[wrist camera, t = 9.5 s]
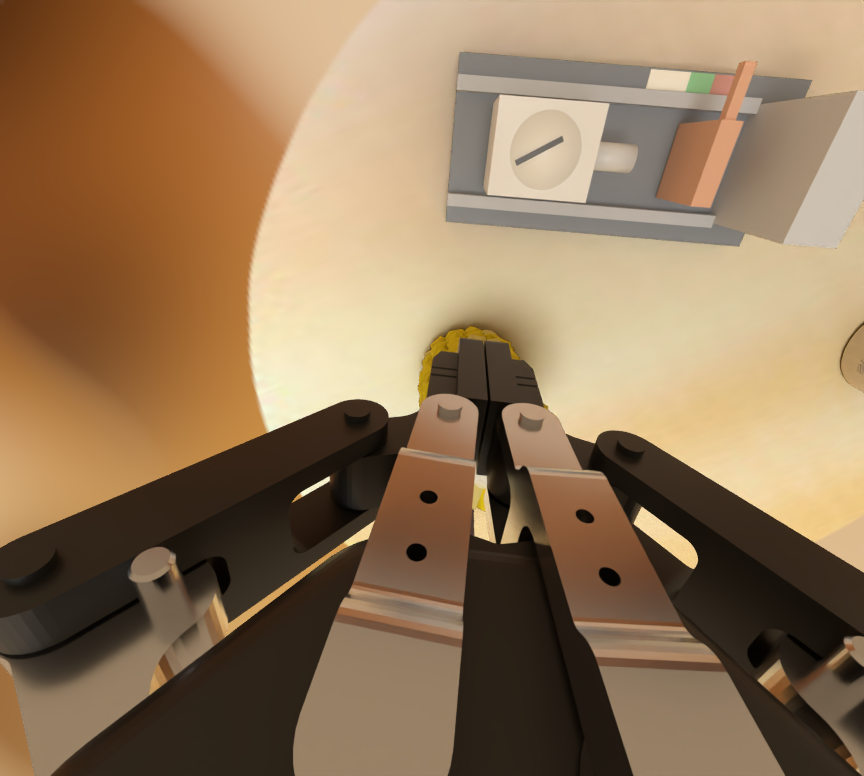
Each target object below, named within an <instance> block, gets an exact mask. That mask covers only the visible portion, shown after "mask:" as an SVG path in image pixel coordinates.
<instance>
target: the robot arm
mask: <svg viewBox="0 0 864 776" xmlns="http://www.w3.org/2000/svg"><path fill="white" fill-rule="evenodd" d="M841 370H842V373H843V376H844V378H845V379H846V380H847V382H848V383H849V384H851V385H852V386H854V387H856V388H857V389H859V390H860V391H862V392H864V325H863V326H862V327H861V328H860V329H859V330H858V331H857V332H856V333H855V334H854V336H853V337H852V338H851V340H850V341H849V343H848V345H847V347H846V348H845V350H844V353H843V357H842V360H841ZM535 379H536V378H535V375H534V371H533V369H532V368H531V367H530V366H529V365H528V364H527V363H526V362H525V361H524V360H515V359H512V357H511V352H510V347H509V343H503V342H494V341H486V340H485V341H484V344H483V340H476V339H468V338H460V339H459V345H458V352H457V353H455V352H446V351H440V352H439V353H438V354H437V355H436V356H434V357H433V361H432V367H431V373H430V379H429V385H428V391H427V397H426V399H425V400H424V401H423V402H422V403H421V406H420V409H419V411H417V412H415V413H413V414H410V415H407V416H401V417H391V418H388V417H389V416H388V412H387V411H386V409H385V408H384V407H383V406H381V405H380V404H378V403H375V402H373V401H369V400H361V399H355V400H347V401H343V402H340V403H337V404H335V405H333V406H330V407H328V408H326V409H323V410H321V411H318V412H316V413H314V414H311V415H309V416H307V417H304V418H302V419H299V420H297V421H295V422H292V423H290V424H288V425H285V426H283V427H281V428H278V429H276V430H273V431H271V432H269V433H266V434H264V435H262V436H260V437H257V438H255V439H252V440H250V441H247V442H245V443H243V444H240V445H238V446H236V447H233V448H231V449H228V450H226V451H224V452H221V453H219V454H217V455H214V456H212V457H210V458H207V459H205V460H203V461H200V462H198V463H195V464H193V465H191V466H189V467H186V468H184V469H182V470H179V471H176V472H174V473H172V474H170V475H167V476H165V477H162V478H160V479H157V480H155V481H153V482H150V483H148V484H146V485H143V486H141V487H139V488H136V489H134V490H131V491H129V492H127V493H124V494H122V495H120V496H117V497H115V498H112V499H110V500H108V501H105V502H103V503H101V504H98V505H96V506H94V507H91V508H89V509H86V510H84V511H82V512H80V513H77V514H75V515H72V516H70V517H68V518H65V519H63V520H60V521H58V522H56V523H53V524H51V525H49V526H46V527H44V528H42V529H39V530H37V531H35V532H32V533H30V534H27V535H25V536H23V537H20V538H18V539H16V540H14V541H12V542H10V543H8V544H7V545H5V546H3V547H1V548H0V664H1V665H2V666H3V667H4V669H5V670H6V671H7V672H8V673H9V674H10V675H11V677H12V678H13V679H14V684H15V689H16V693H17V698H18V702H19V707H20V711H21V716H22V720H23V725H24V730H25V733H26V739H27V743H28V747H29V752H30V757H31V761H32V766H33V770H34V774H35V776H864V573H863V572H862V571H860V570H858V569H857V568H855V567H853V566H852V565H850V564H848V563H847V562H845V561H844V560H842V559H840V558H839V557H837V556H835V555H834V554H832V553H830V552H829V551H827V550H825V549H824V548H822V547H820V546H819V545H817V544H816V543H814V542H812V541H811V540H809V539H807V538H806V537H804V536H803V535H801V534H799V533H798V532H796V531H794V530H793V529H791V528H789V527H788V526H786V525H785V524H783V523H781V522H780V521H778V520H776V519H775V518H773V517H771V516H770V515H768V514H766V513H765V512H763V511H762V510H760V509H758V508H757V507H755V506H753V505H752V504H750V503H748V502H747V501H745V500H743V499H742V498H740V497H739V496H737V495H735V494H734V493H732V492H730V491H729V490H727V489H725V488H724V487H722V486H721V485H719V484H717V483H716V482H714V481H712V480H711V479H709V478H707V477H706V476H704V475H702V474H701V473H699V472H698V471H696V470H694V469H693V468H691V467H689V466H688V465H686V464H684V463H683V462H681V461H679V460H678V459H676V458H675V457H673V456H671V455H670V454H668V453H666V452H665V451H663V450H661V449H660V448H658V447H657V446H655V445H653V444H652V443H650V442H648V441H647V440H645V439H643V438H641V437H639V436H637V435H634V434H631V433H627V432H623V431H606V432H603V433H601V434H600V435H599V436H598V438H597V440H596V443H595V444H594V443H591V442H588V441H584V440H581V439H578V438H575V437H572V436H570V435H568V434H565V431H564V429H563V427H562V425H561V423H560V421H559V419H558V418H557V417H556V415H554V414H553V413H552V412H550V411H549V410H547V409H545V408H544V405H543V402H542V398H541V395H540V391H539V388H538V385H537V381H536V380H535ZM475 469H476V475H482V476H487V485H486V489H485V494H484V505H485V512H486V519H487V526H488V533H489V540H490V541H487V540H484V539H481V538H478V537H475V536H472V535H470V525H471V514H472V503H473V492H474V480H475ZM329 476H330V482H328V483H326V484H324V485H323V486H321V487H319V488H317V489H316V490H314V491H312V492H310V493H309V494H307V495H305V496H303V497H302V498H300V499H298V500H296V501H295V502H293V503H292V501H293V500H294V498H295V497H296V496H297V495H298V494H299V493H301V492H302V491H304V490H305V489H307V488H309V487H311V486H312V485H314V484H316V483H318V482H320V481H321V480H323V479H325V478H327V477H329ZM641 507H643V508H645V509H646V510H647V511H649V512H650V513H652V514H653V515H654V516H656V517H657V518H658V519H660V520H661V521H662V522H664V523H665V524H666V525H668V526H669V527H670V528H672V529H673V530H675V531H676V532H677V533H679V534H680V535H681V536H683V537H684V538H685V539H687V540H688V541H689V542H690V543H691V544H692V546H693V547H694V548H695V550H696V552H697V555H698V564H697V566H696V567H695V569H692V568H690V567H688V566H686V565H685V564H684V563H682V562H681V561H680V560H679V559H677V558H676V557H675V556H674V555H672V554H671V553H670V552H668V551H667V550H666V549H665V548H663V547H662V546H661V545H660V544H658V543H657V542H656V541H654V540H653V539H652V538H651V537H649V536H648V535H647V534H645V533H644V532H643V531H642V530H640V529H639V528H638V527H637V526H635V525H634V524H633V523H634V521H635V519H636V517H637V515H638V513H639V511H640V509H641ZM374 520H375V522H374V525H373V528H372V530H371V533H370V536H369V539H367V540H364V541H361V542H358V543H356V544H353V545H351V546H349V547H347V548H345V549H343V550H341V551H340V552H338V553H336V554H334V555H333V556H331V557H330V558H329V559H327V560H326V561H324V562H323V563H322V564H321V565H319V566H318V567H317V568H315V569H314V570H313V571H311V572H310V573H309V574H308V575H306V576H305V577H303V578H302V579H301V580H300V581H298V582H297V583H296V584H294V585H293V586H292V587H290V588H289V589H288V590H286V591H285V592H284V593H282V594H281V595H280V596H279V597H277V598H276V599H275V600H273V601H272V602H271V603H269V604H268V605H267V606H265V607H264V608H263V609H262V610H260V611H259V612H258V613H256V614H255V615H254V616H252V617H251V618H250V619H248V620H247V621H246V622H245V623H243V624H242V625H241V626H239V627H238V628H237V629H235V630H234V631H233V632H231V633H230V634H229V635H228V636H226V637H225V635H226V632H227V627H228V623H229V622H231V621H232V620H234V619H235V618H237V617H238V616H240V615H241V614H242V613H244V612H245V611H247V610H248V609H250V608H251V607H252V606H254V605H255V604H257V603H258V602H259V601H261V600H262V599H264V598H265V597H266V596H268V595H269V594H271V593H272V592H274V591H275V590H276V589H278V588H279V587H281V586H282V585H283V584H285V583H286V582H288V581H289V580H291V579H292V578H293V577H295V576H296V575H298V574H299V573H301V572H302V571H303V570H305V569H306V568H308V567H309V566H311V565H312V564H313V563H315V562H316V561H318V560H319V559H320V558H322V557H323V556H325V555H326V554H328V553H329V552H330V551H332V550H333V549H335V548H336V547H337V546H339V545H340V544H342V543H343V542H345V541H346V540H347V539H349V538H350V537H352V536H353V535H354V534H356V533H357V532H359V531H360V530H362V529H363V528H364V527H366V526H367V525H369V524H370V523H371V522H373V521H374ZM224 637H225V638H224Z"/></svg>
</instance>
